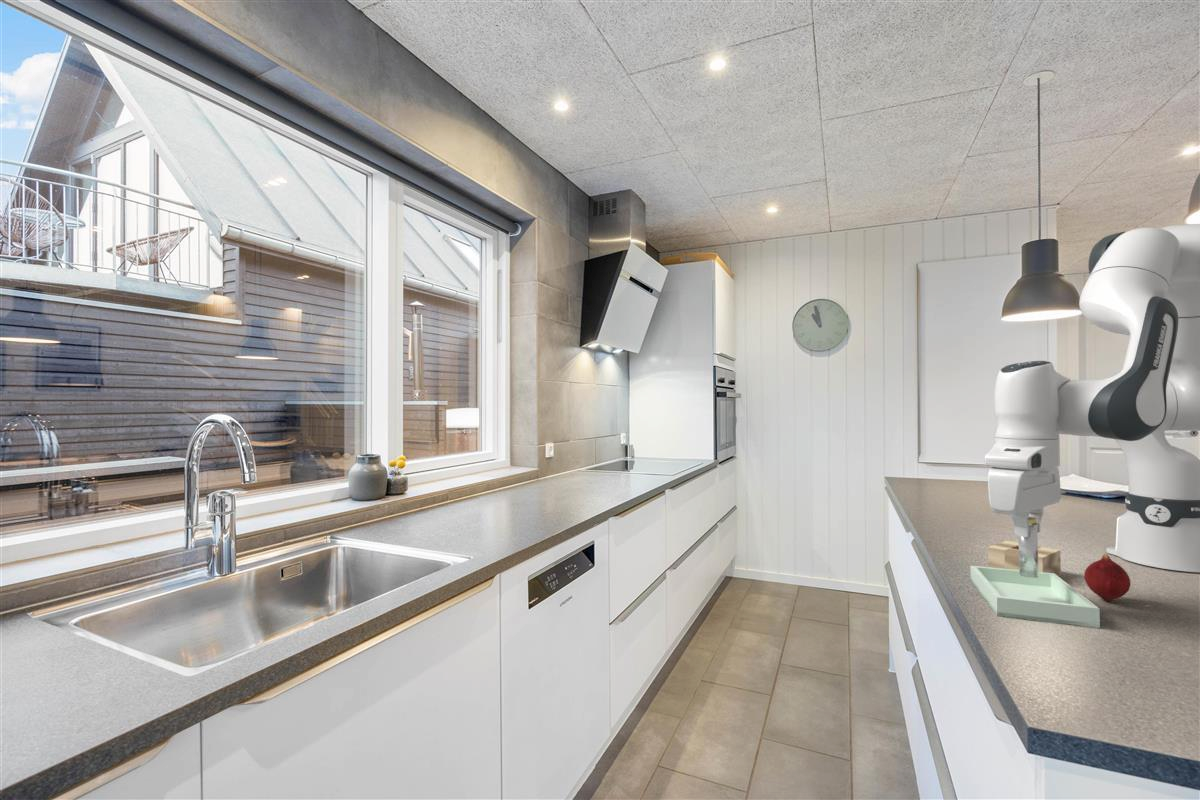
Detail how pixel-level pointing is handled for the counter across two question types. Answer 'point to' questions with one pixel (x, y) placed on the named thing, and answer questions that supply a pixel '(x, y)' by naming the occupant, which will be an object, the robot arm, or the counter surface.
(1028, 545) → the steel pin
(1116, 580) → the onion
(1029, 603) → the tray
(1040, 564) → the hitch block
